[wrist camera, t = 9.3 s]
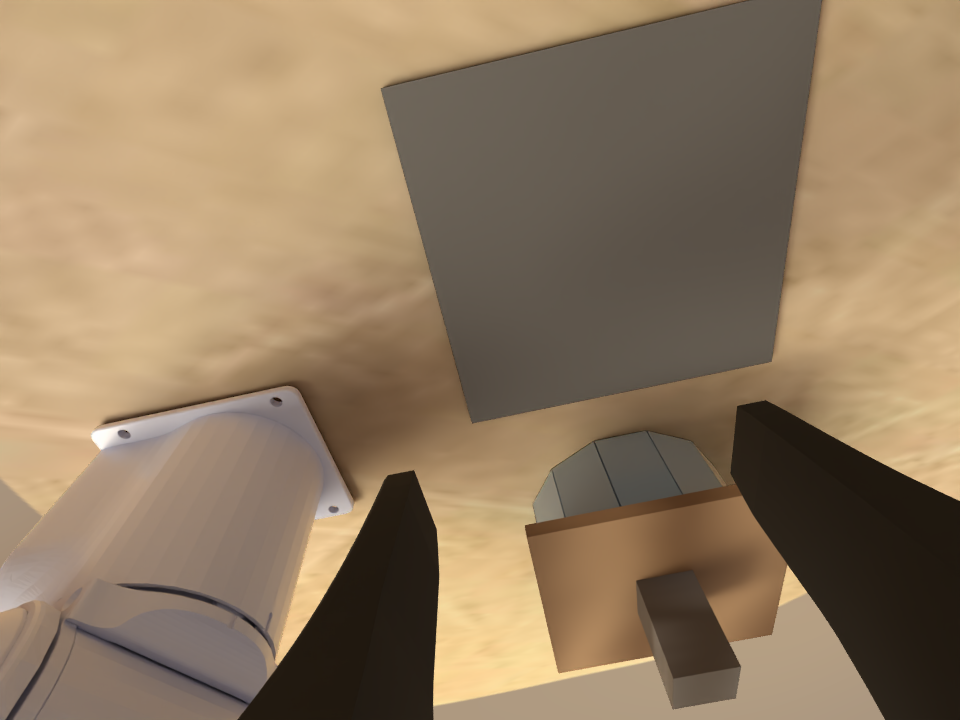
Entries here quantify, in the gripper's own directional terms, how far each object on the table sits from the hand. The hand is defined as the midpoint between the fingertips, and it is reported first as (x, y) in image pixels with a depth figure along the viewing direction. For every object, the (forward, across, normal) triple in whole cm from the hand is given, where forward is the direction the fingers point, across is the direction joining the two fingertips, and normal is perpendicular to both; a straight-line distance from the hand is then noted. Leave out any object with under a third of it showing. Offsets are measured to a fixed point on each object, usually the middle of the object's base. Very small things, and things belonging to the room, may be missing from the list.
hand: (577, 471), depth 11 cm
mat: (+10, -4, -1) cm, 11 cm away
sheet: (+5, -4, +14) cm, 15 cm away
